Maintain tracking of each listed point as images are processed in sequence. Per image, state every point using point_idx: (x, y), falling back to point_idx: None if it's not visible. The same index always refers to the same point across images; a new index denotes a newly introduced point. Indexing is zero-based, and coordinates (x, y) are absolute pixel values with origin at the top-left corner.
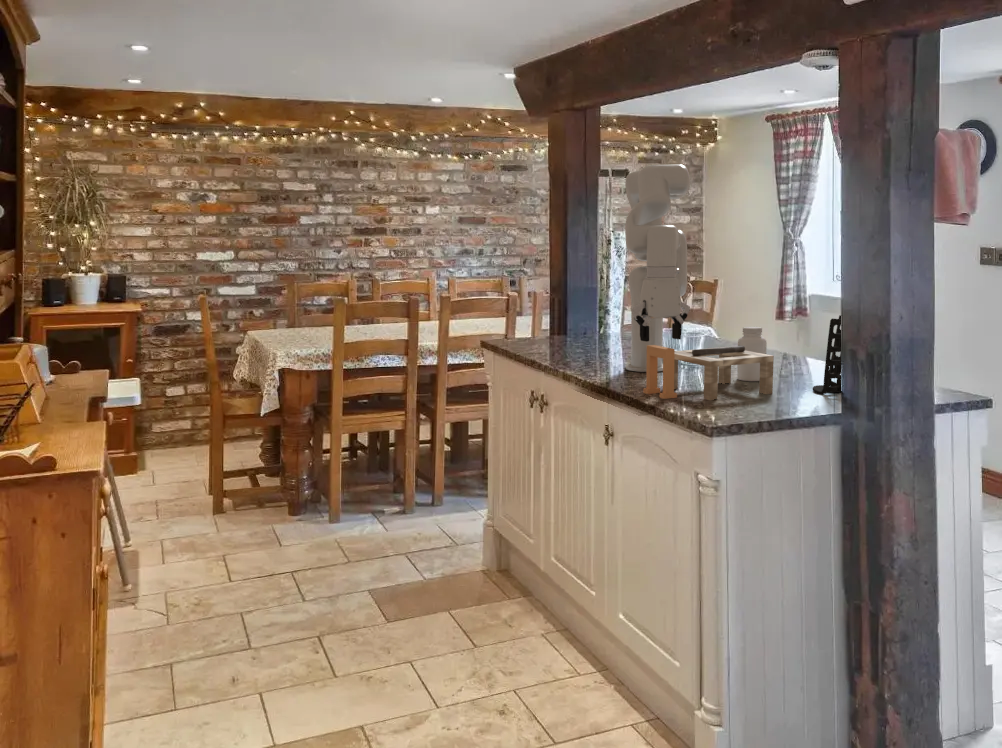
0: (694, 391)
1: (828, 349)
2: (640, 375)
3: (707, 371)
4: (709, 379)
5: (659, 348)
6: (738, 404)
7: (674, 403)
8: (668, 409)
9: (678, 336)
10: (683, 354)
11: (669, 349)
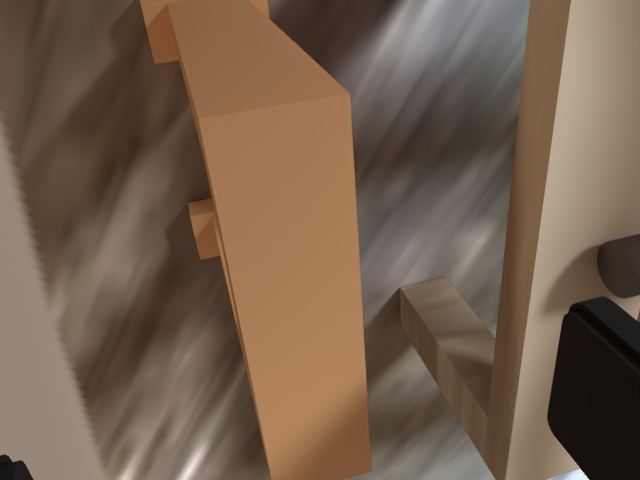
0: (490, 73)
1: None
2: None
3: (469, 417)
4: (447, 398)
5: (255, 396)
6: (451, 411)
7: (202, 359)
8: (115, 467)
9: (568, 451)
10: (594, 143)
11: None
